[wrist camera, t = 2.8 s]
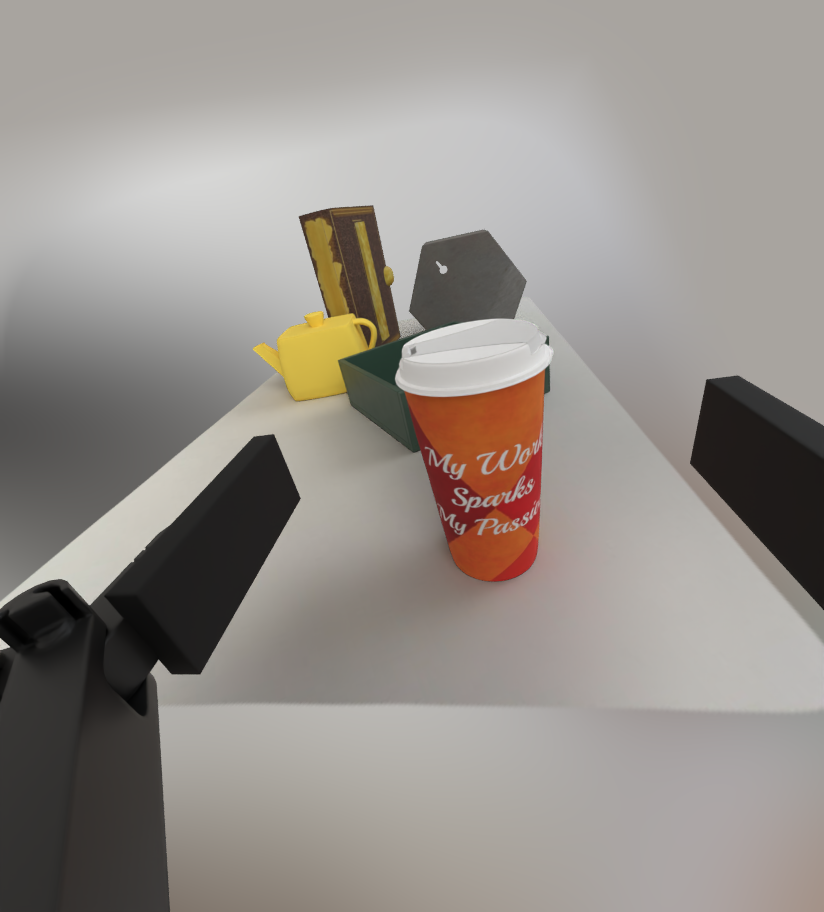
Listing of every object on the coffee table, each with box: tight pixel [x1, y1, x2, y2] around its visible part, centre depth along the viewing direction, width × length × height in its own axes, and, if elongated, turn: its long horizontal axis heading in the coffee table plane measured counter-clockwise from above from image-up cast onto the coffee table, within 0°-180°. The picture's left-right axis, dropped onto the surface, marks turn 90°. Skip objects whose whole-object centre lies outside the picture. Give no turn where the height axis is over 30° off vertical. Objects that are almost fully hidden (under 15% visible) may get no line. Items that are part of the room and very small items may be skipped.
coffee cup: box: [395, 319, 554, 581], centre depth 24 cm, size 8×8×15 cm
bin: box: [338, 321, 550, 452], centre depth 51 cm, size 19×19×7 cm
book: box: [299, 206, 401, 348], centre depth 75 cm, size 22×8×25 cm, turn 164°
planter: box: [409, 230, 526, 330], centre depth 68 cm, size 17×8×21 cm
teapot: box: [253, 311, 377, 401], centre depth 64 cm, size 20×12×12 cm, turn 91°
